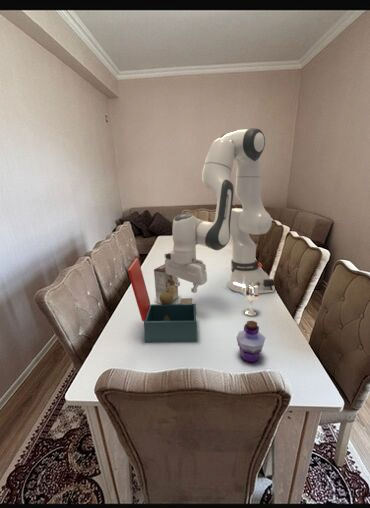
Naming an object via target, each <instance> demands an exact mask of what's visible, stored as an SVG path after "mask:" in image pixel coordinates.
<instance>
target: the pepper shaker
mask: <svg viewBox="0 0 370 508" xmlns="http://www.w3.org/2000/svg"><path fill="white" fill-rule="evenodd" d="M160 302H161V303H160V304H173V302H174V301H173V295H172V294H171V293H168V292H165V293H162V294H161V295H160ZM163 321H170V319H169V317H168V315H165V317H164V320H163Z"/></svg>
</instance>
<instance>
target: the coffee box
mask: <svg viewBox="0 0 370 508" xmlns="http://www.w3.org/2000/svg"><path fill="white" fill-rule="evenodd" d="M153 276H154V277H153V278H154V288H155V301H156V303H157V304H161V302H160V295H161V294H162V293H165V292H168V293H171V294H172V295H173V301H172V302H174V301H175V300H176V299H178V298H179V286H178V287H177V286H175V282H174V280H173V278H172V275H169V274H167V273H166V271H165V263H164V264H162V265H160V266H158V267H156V268H154V269H153Z"/></svg>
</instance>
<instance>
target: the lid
mask: <svg viewBox="0 0 370 508" xmlns="http://www.w3.org/2000/svg"><path fill="white" fill-rule="evenodd" d="M127 274H128V278H129V281H130V283H131V288H132V292H133V294H134V297H135V301H136V304H137V308H138V311H139V315H140V318H141V322H144V321H145V318H146V315H147V312H148V309H149V306H150V304H151V300H150V297H149V293H148V289H147V286H146V282H145V278H144V274H143V271H142V267H141V264H140V259H139V257H136V258H134V261H133V262H132V264H131V265H130V266H129V268H128V269H127Z"/></svg>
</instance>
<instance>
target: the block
mask: <svg viewBox="0 0 370 508" xmlns="http://www.w3.org/2000/svg"><path fill="white" fill-rule="evenodd" d="M179 304H193V297H181V298H180V299H179Z"/></svg>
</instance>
